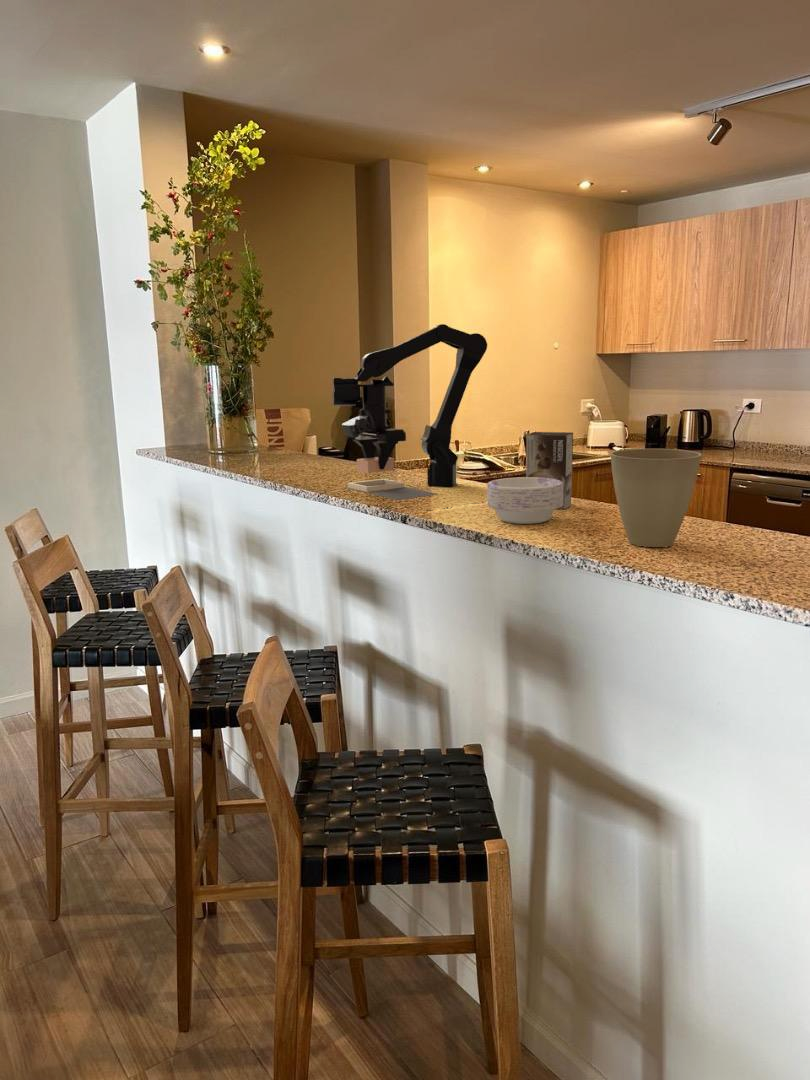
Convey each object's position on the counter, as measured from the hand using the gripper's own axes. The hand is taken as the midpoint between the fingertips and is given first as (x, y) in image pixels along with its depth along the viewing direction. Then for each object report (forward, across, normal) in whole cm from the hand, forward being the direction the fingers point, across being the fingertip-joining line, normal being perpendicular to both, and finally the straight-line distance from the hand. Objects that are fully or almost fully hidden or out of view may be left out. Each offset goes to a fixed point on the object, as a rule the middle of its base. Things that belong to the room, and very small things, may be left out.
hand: (375, 468), depth 195 cm
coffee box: (+6, +42, +17) cm, 46 cm away
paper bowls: (+6, +50, +2) cm, 51 cm away
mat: (+6, +6, 0) cm, 8 cm away
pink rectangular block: (+1, 0, 0) cm, 1 cm away
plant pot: (+6, +79, +4) cm, 79 cm away
